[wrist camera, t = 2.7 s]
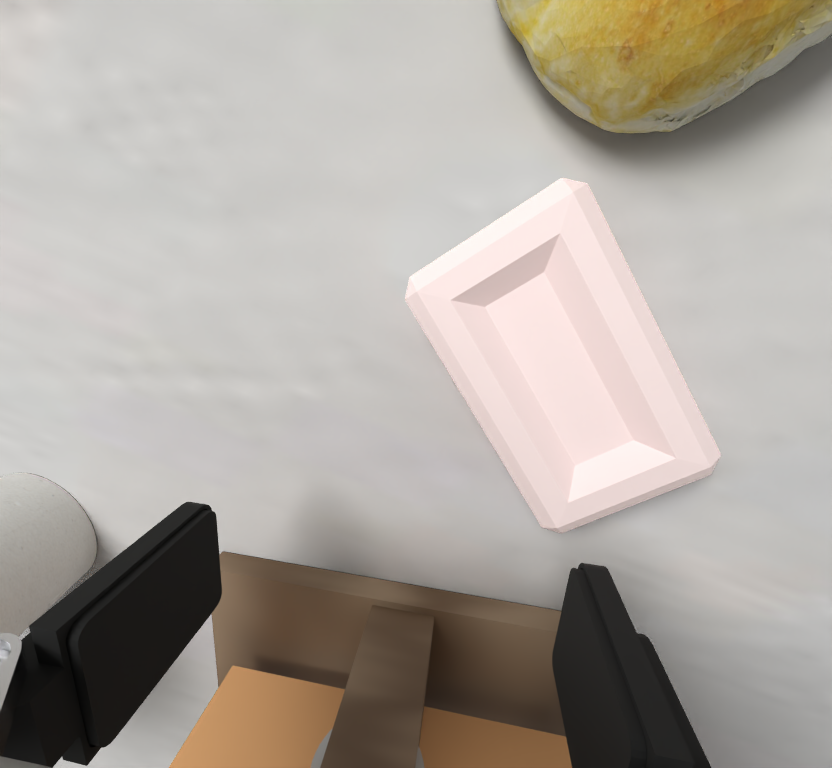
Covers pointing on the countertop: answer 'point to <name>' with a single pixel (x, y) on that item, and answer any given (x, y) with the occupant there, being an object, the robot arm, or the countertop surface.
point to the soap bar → (563, 360)
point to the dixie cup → (39, 548)
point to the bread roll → (659, 53)
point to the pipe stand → (387, 654)
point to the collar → (315, 716)
